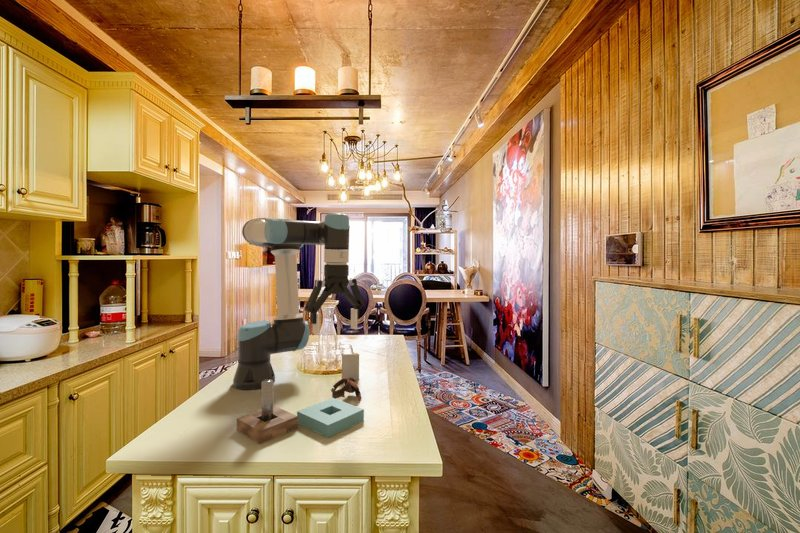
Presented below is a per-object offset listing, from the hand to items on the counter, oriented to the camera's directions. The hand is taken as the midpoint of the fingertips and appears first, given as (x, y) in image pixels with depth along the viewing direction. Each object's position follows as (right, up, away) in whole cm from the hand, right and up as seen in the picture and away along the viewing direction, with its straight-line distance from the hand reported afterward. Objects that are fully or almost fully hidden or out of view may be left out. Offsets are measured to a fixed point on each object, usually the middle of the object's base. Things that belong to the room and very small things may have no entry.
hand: (335, 331), depth 120 cm
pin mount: (-18, -26, -10) cm, 33 cm away
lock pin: (-18, -26, -10) cm, 33 cm away
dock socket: (-1, -26, -5) cm, 27 cm away
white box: (0, -25, +35) cm, 43 cm away
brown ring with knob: (+2, -26, +14) cm, 30 cm away
